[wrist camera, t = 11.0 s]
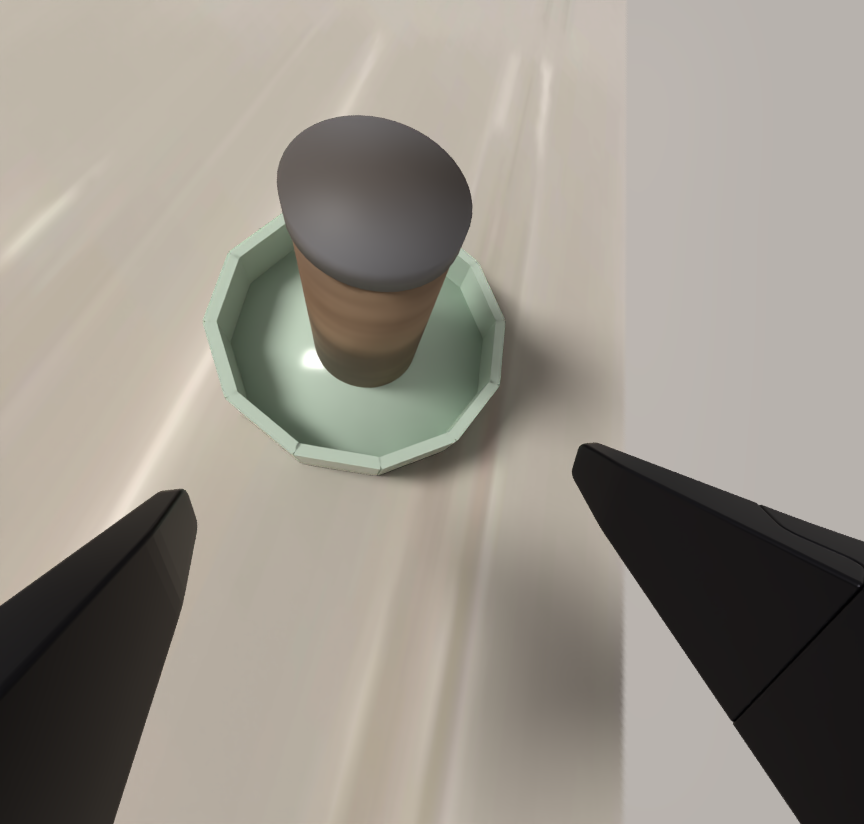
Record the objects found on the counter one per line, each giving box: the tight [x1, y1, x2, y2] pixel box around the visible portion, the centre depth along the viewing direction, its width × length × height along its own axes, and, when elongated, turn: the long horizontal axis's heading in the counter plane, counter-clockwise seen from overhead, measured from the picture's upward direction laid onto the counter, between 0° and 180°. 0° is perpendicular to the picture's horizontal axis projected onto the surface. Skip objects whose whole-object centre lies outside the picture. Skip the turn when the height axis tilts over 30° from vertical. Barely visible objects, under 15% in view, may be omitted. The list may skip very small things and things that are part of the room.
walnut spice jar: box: [277, 115, 472, 388], centre depth 14 cm, size 5×5×9 cm
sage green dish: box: [203, 213, 505, 476], centre depth 18 cm, size 13×13×2 cm
